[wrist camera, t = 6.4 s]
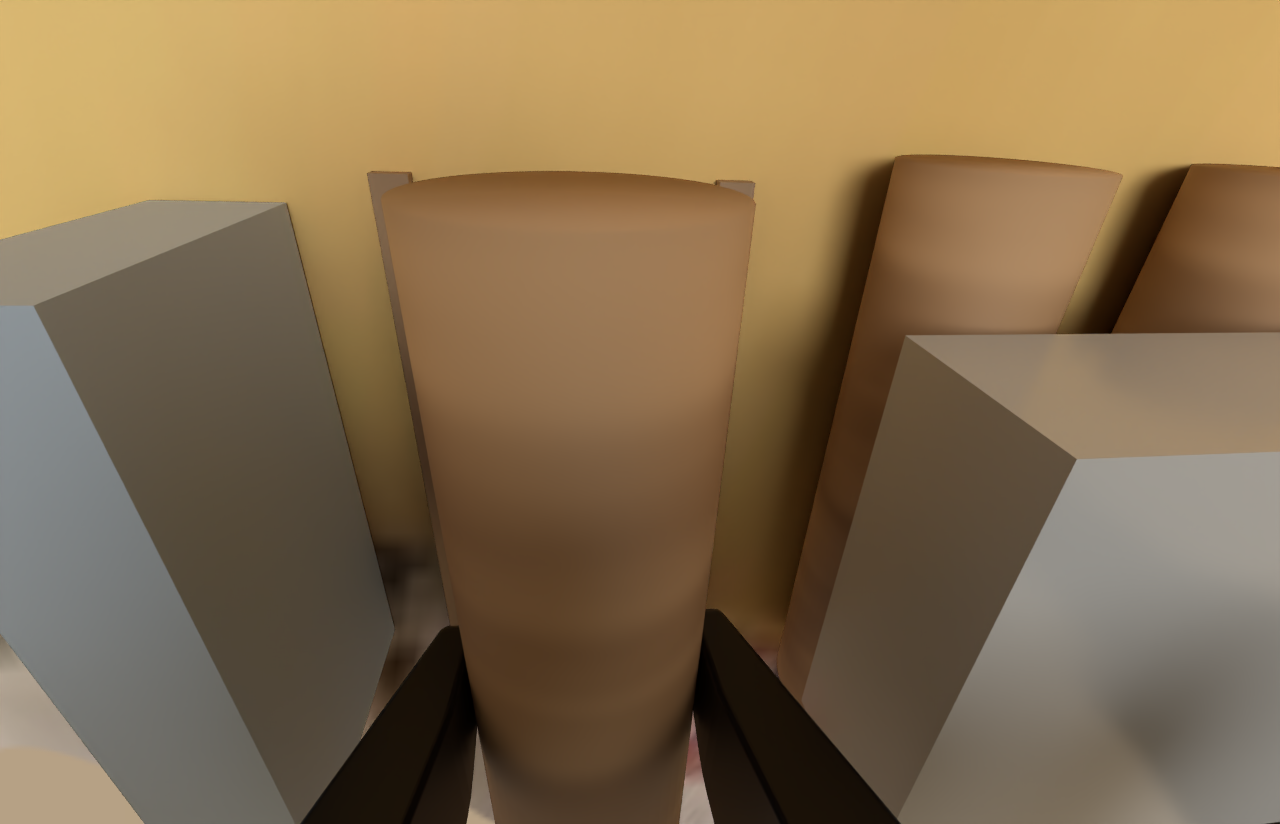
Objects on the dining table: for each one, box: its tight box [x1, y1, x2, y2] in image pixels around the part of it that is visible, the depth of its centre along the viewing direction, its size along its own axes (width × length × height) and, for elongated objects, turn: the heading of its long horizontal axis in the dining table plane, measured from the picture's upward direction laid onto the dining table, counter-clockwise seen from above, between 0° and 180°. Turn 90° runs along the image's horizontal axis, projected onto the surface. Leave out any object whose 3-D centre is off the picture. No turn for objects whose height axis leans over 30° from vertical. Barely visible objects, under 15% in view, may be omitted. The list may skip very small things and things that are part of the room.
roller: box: [381, 171, 756, 824], centre depth 8 cm, size 12×3×3 cm, turn 178°
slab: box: [802, 332, 1280, 824], centre depth 9 cm, size 8×10×3 cm
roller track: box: [367, 155, 1280, 709], centre depth 11 cm, size 12×17×3 cm
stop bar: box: [0, 200, 395, 824], centre depth 9 cm, size 10×2×5 cm, turn 178°
